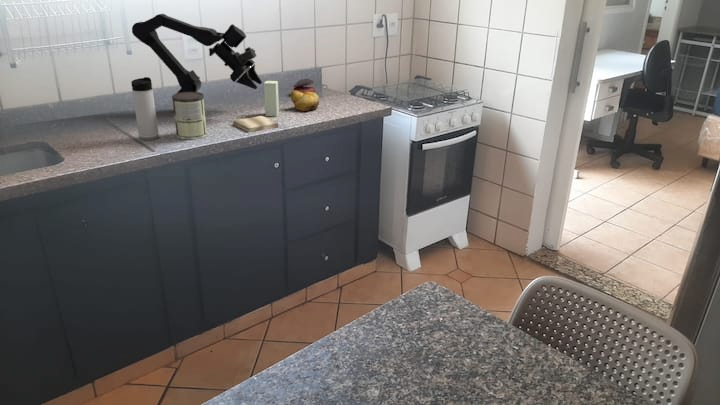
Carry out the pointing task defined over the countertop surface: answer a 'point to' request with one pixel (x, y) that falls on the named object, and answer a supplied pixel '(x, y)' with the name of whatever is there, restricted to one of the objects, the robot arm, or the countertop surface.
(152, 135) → the travel mug
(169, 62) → the robot arm
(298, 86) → the dark grey rounded piece
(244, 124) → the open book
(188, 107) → the coffee can
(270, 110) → the sage block
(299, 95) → the bread roll
